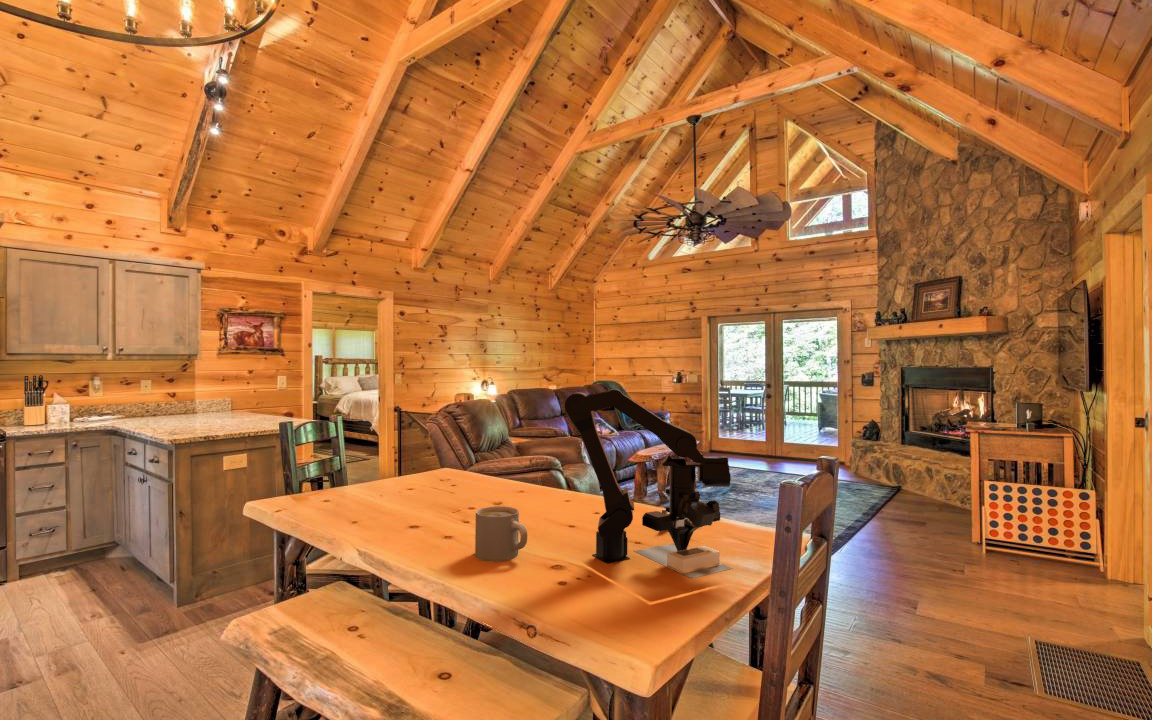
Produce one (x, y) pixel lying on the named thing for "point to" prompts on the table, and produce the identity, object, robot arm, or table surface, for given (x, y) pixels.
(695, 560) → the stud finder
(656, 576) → the table surface
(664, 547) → the subfloor panel
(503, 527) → the coffee mug
